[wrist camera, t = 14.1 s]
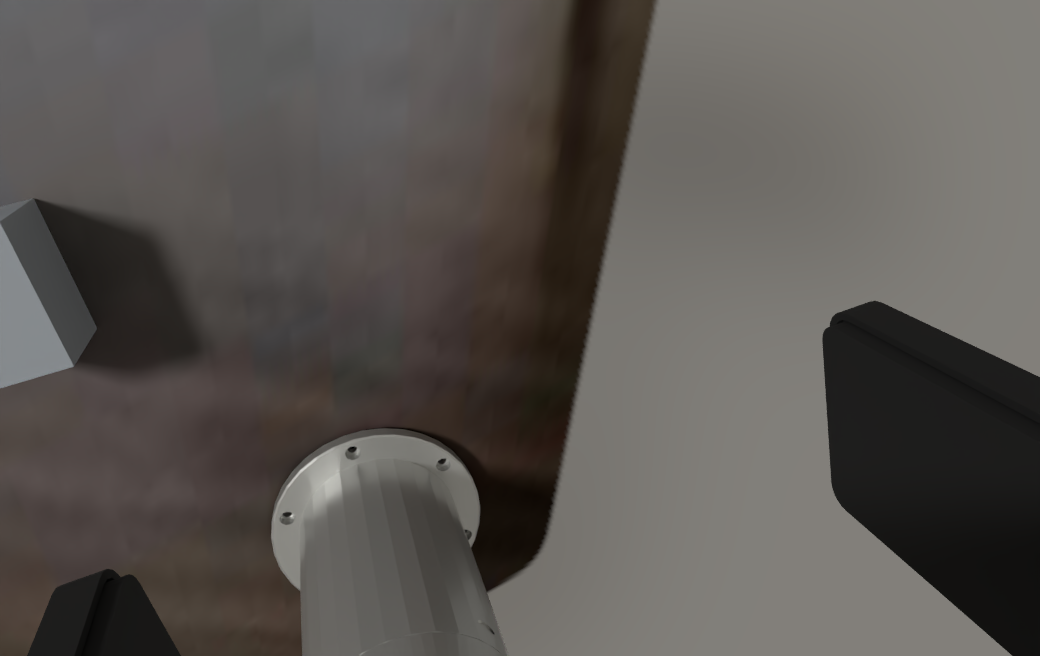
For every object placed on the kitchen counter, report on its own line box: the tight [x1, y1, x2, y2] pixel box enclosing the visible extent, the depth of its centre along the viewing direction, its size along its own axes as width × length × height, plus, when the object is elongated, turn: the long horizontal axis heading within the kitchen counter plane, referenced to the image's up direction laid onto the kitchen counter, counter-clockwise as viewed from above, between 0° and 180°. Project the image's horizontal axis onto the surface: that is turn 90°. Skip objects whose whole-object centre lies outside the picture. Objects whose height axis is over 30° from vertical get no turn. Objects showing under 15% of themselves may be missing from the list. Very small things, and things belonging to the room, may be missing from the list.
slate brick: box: [0, 198, 97, 388], centre depth 36 cm, size 7×4×5 cm, turn 13°
